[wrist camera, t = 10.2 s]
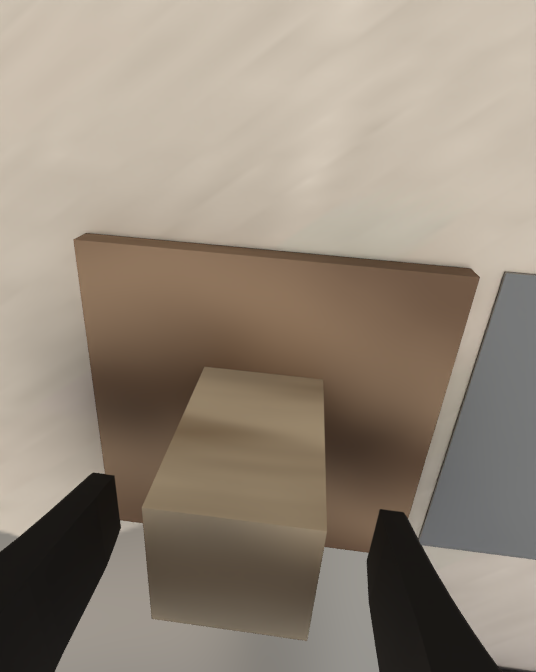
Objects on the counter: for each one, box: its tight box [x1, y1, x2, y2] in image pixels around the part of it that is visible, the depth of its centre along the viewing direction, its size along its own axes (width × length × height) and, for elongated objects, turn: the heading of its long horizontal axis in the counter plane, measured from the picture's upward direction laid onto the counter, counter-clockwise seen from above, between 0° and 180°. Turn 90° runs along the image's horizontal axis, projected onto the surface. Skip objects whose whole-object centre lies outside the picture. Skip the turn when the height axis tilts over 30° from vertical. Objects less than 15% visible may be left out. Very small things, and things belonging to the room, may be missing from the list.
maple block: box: [142, 367, 327, 641], centre depth 13 cm, size 4×4×6 cm
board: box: [74, 233, 480, 553], centre depth 16 cm, size 12×12×1 cm
